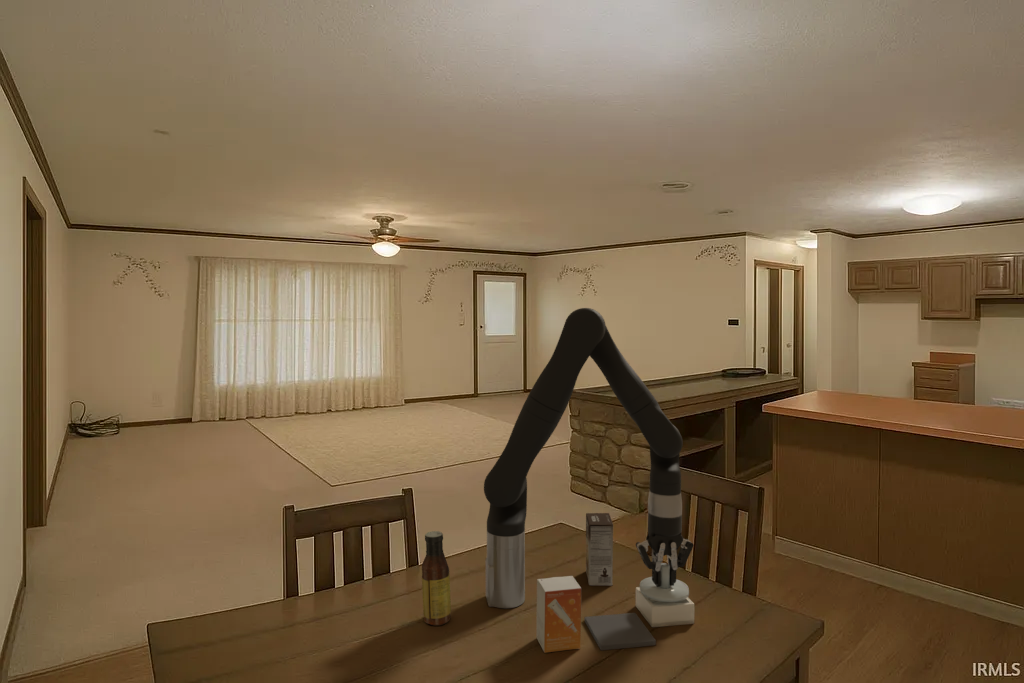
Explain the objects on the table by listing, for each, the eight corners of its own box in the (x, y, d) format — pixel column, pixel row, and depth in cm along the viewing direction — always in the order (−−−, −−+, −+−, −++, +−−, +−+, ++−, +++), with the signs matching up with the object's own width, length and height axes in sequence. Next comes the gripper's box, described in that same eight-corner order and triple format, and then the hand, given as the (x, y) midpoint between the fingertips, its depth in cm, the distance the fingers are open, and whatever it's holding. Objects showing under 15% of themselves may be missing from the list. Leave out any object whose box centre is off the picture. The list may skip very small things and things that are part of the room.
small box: (544, 654, 123) (544, 591, 122) (535, 637, 129) (536, 578, 129) (581, 649, 125) (582, 587, 124) (571, 633, 131) (572, 574, 130)
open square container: (651, 627, 134) (652, 607, 133) (635, 605, 143) (635, 587, 143) (694, 623, 135) (694, 603, 135) (675, 602, 145) (675, 584, 145)
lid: (650, 604, 133) (651, 577, 132) (632, 582, 143) (632, 557, 143) (697, 600, 134) (697, 573, 134) (676, 578, 145) (676, 554, 145)
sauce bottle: (456, 616, 138) (455, 531, 137) (441, 629, 133) (441, 540, 132) (431, 610, 141) (431, 527, 140) (416, 623, 135) (416, 536, 134)
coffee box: (585, 570, 163) (585, 512, 162) (608, 570, 163) (609, 512, 162) (588, 585, 154) (588, 524, 153) (613, 586, 154) (614, 524, 153)
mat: (600, 650, 124) (600, 645, 124) (584, 621, 136) (584, 616, 136) (655, 645, 126) (655, 640, 126) (635, 616, 138) (635, 612, 138)
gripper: (642, 517, 133) (641, 594, 134) (701, 514, 136) (700, 589, 136) (630, 507, 141) (629, 579, 142) (686, 504, 143) (685, 575, 144)
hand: (664, 584), depth 139 cm, fingers closed
